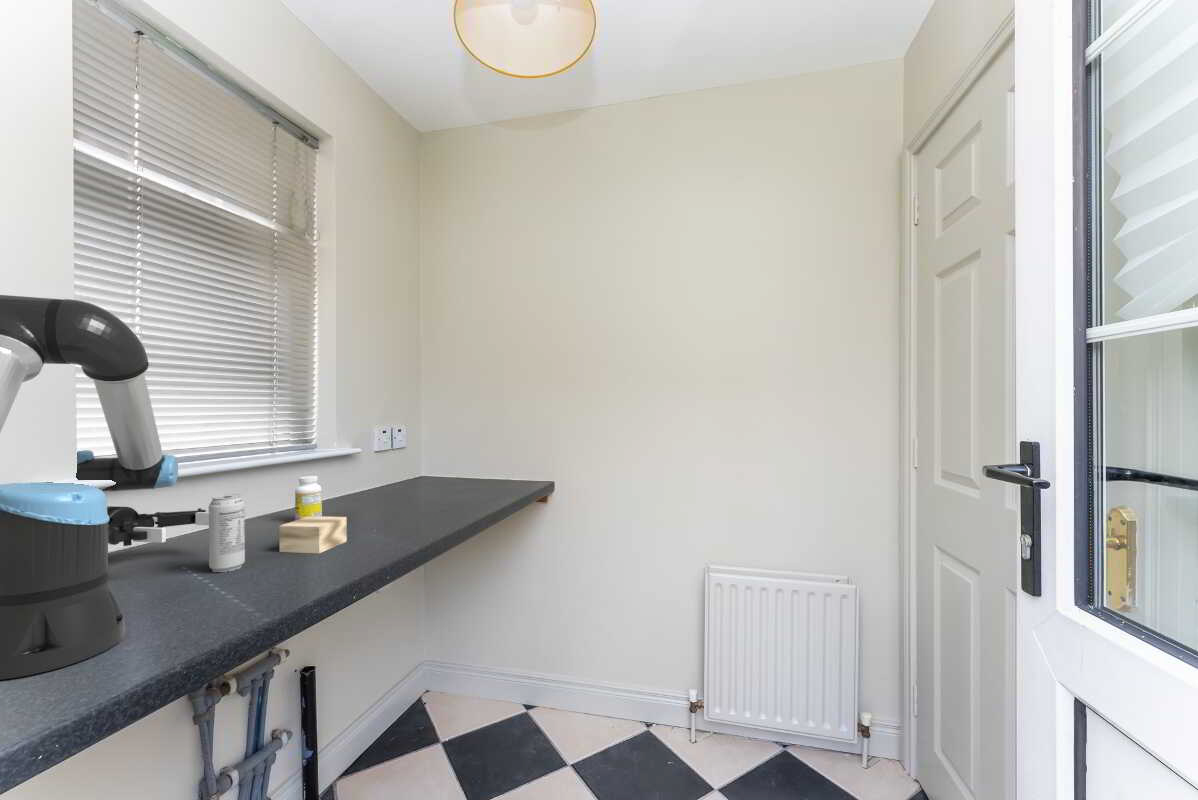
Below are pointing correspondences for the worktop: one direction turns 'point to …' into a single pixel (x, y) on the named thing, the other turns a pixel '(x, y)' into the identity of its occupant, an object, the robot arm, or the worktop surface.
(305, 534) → the oak block
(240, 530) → the energy drink can
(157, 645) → the worktop surface
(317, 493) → the supplement bottle
